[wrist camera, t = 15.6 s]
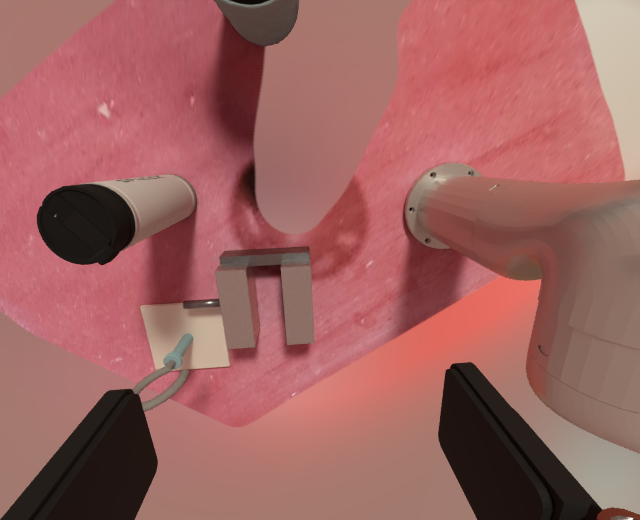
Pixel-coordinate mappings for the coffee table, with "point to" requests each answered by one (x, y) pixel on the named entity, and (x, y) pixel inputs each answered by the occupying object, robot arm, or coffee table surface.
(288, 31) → the grey-green cup
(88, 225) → the travel mug
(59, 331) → the coffee table surface
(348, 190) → the coffee table surface
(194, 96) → the coffee table surface
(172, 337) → the mat
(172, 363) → the hook
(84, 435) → the robot arm
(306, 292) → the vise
